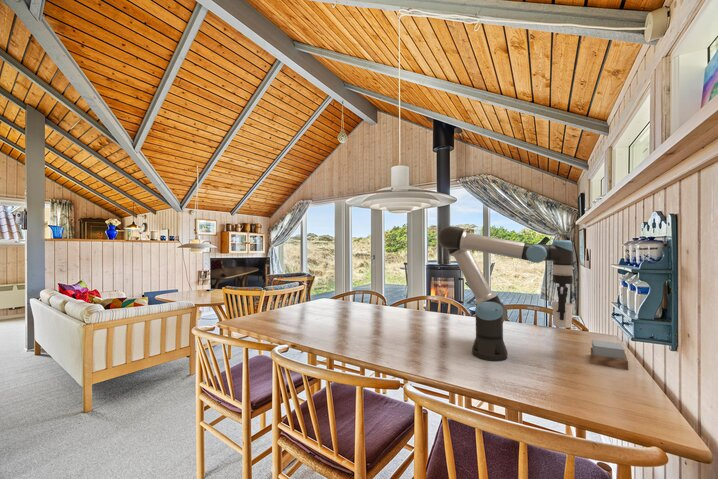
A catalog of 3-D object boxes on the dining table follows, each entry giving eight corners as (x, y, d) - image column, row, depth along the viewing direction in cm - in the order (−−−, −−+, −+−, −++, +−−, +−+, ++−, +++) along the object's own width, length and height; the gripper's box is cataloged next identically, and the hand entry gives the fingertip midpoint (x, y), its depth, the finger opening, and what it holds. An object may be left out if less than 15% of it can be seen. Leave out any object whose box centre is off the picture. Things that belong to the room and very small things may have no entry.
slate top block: (594, 355, 133) (594, 345, 133) (592, 348, 142) (591, 339, 142) (624, 359, 128) (624, 349, 128) (620, 352, 137) (620, 343, 137)
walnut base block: (591, 364, 134) (590, 355, 134) (590, 356, 143) (590, 347, 143) (628, 371, 127) (627, 361, 127) (625, 361, 136) (624, 352, 136)
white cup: (571, 324, 143) (571, 302, 143) (574, 329, 136) (574, 306, 136) (551, 322, 147) (551, 301, 147) (553, 326, 139) (553, 304, 139)
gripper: (571, 277, 131) (571, 331, 131) (573, 273, 147) (573, 321, 147) (550, 275, 135) (550, 328, 135) (554, 272, 152) (554, 319, 152)
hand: (562, 325), depth 141 cm, fingers closed on white cup, 8 cm apart
